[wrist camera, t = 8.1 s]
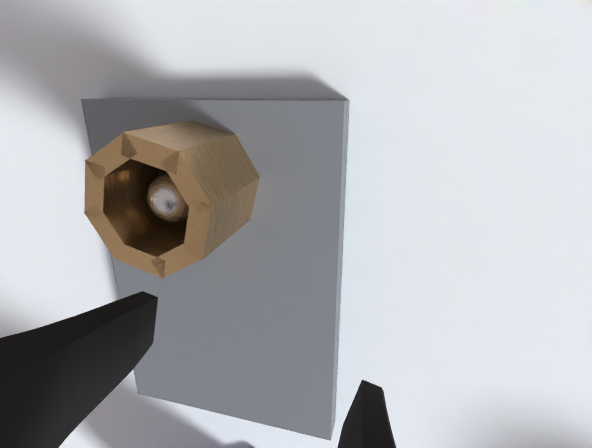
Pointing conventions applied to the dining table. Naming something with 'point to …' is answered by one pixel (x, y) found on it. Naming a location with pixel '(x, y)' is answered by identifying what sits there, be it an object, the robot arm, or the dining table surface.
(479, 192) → the dining table surface
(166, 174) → the steel pin
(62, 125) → the dining table surface
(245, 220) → the bronze ring
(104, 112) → the slate block
